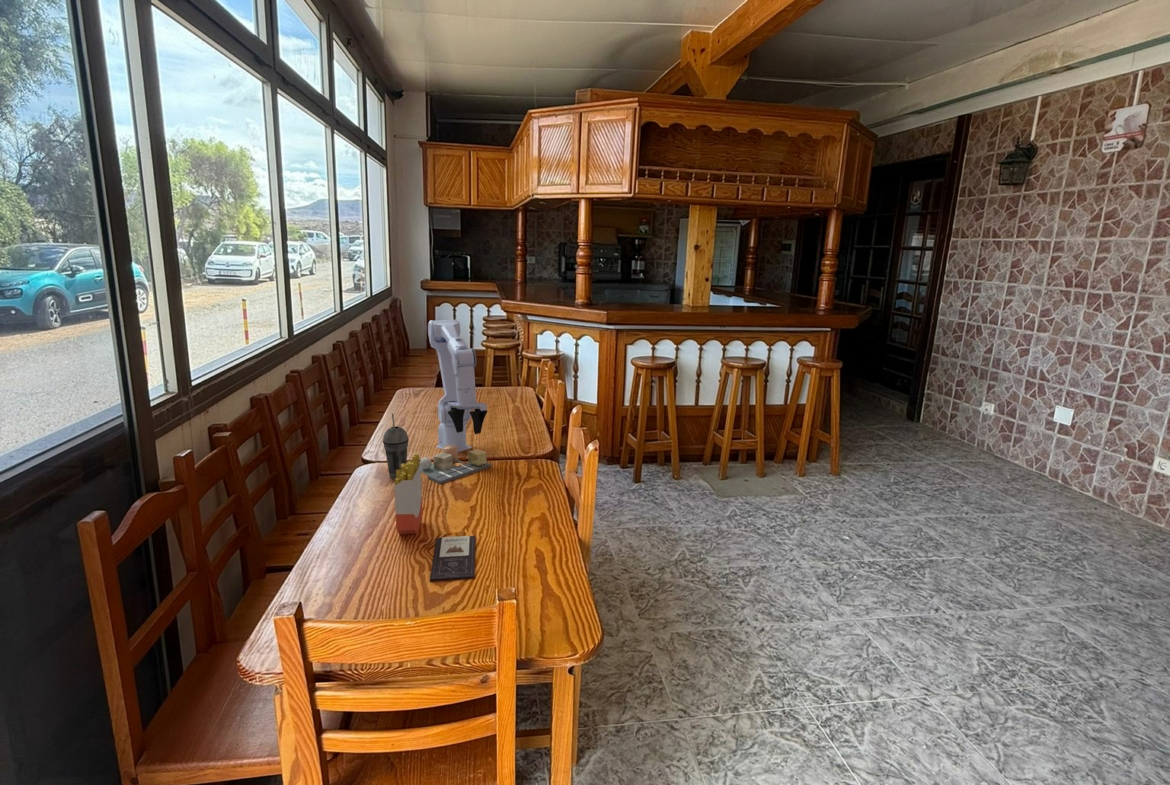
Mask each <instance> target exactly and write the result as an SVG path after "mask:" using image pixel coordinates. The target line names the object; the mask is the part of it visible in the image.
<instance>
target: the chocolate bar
mask: <svg viewBox="0 0 1170 785" xmlns="http://www.w3.org/2000/svg"><path fill="white" fill-rule="evenodd" d="M475 563H476V535H463V536H461V535H460V536H447V537H446V536H442V537H436V538H435V544H434V551H433V557H432V562H431V570H430V576H429V582H430V583H431V582H445V581H447V582H448V581H460V580H462V581H463V580H474V579H475V570H476V569H475V566H476V565H475Z"/></svg>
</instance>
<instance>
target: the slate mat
mask: <svg viewBox="0 0 1170 785" xmlns="http://www.w3.org/2000/svg"><path fill="white" fill-rule="evenodd" d="M457 463H465V462H464V461H462V460H459V459H458V462H457ZM453 467H456V466H455V465H453ZM453 467H452V468H453ZM420 468H421V467H420ZM441 471H442V470H437V469H434V462H432V465H431V467H430V468H429V469H427V470H424V469H422V468H421V474H422V473H423V474H424V475H426V476H428V475H431V474H434V473H437V472H441Z"/></svg>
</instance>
